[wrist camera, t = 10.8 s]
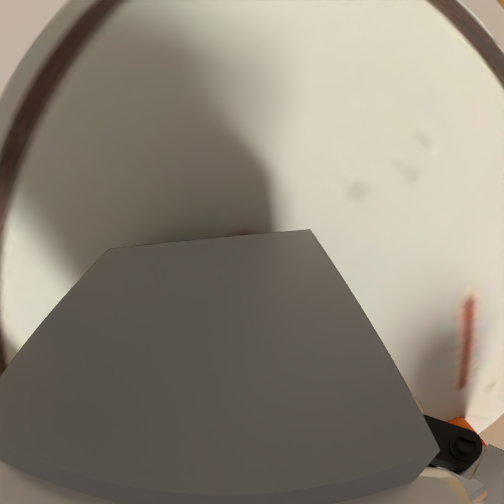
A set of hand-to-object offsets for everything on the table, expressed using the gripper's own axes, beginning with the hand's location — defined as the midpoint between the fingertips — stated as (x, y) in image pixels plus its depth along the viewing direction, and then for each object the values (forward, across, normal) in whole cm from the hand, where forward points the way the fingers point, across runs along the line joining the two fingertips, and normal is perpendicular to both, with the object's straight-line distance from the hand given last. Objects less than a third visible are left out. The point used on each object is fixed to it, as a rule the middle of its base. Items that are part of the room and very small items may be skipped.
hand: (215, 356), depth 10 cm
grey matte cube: (+2, 0, 0) cm, 2 cm away
